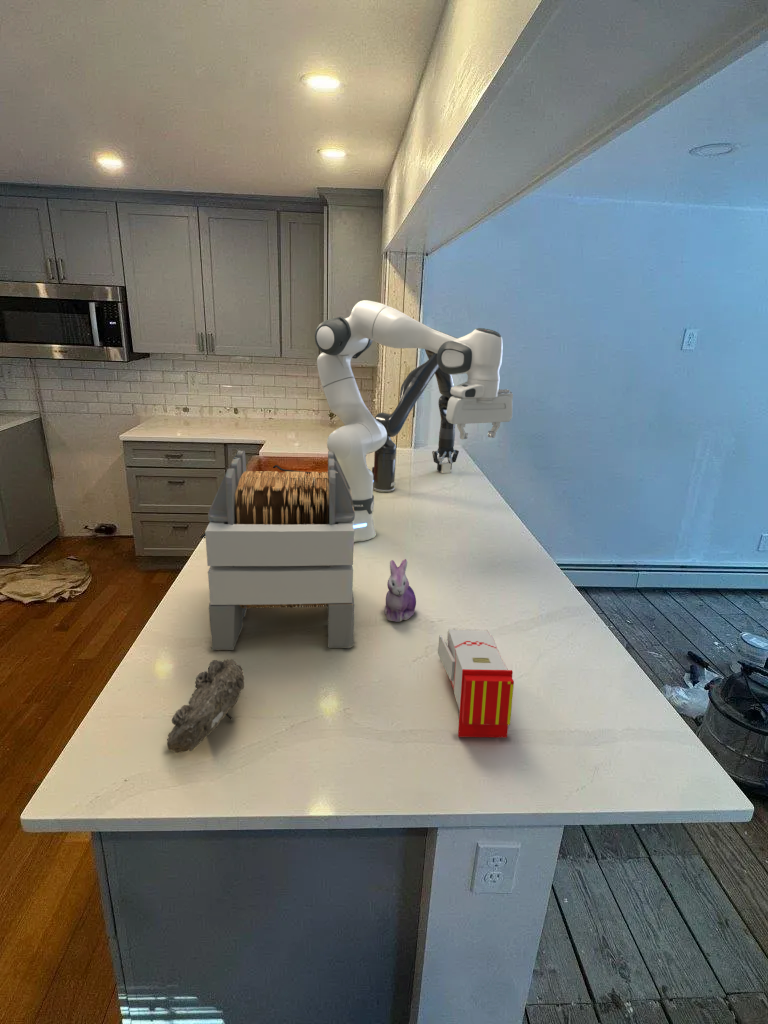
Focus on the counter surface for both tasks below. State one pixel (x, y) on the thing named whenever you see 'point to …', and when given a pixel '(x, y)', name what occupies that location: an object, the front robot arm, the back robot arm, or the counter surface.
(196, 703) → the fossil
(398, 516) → the counter surface
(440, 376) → the back robot arm
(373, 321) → the front robot arm
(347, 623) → the grey record crate stand
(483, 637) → the toy
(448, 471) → the brick
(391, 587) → the figurine
